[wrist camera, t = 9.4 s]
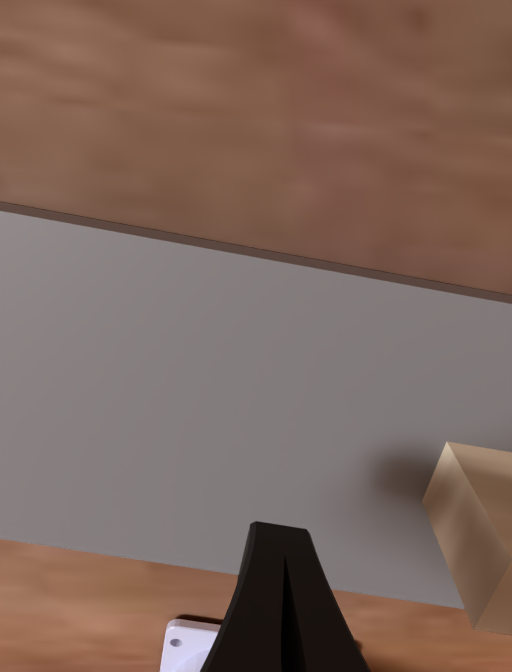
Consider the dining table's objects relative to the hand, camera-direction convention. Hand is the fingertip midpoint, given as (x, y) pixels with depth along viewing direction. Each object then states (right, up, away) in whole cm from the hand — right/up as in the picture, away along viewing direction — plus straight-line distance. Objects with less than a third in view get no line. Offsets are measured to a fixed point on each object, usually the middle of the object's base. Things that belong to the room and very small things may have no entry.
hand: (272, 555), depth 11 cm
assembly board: (+8, +1, +5) cm, 10 cm away
